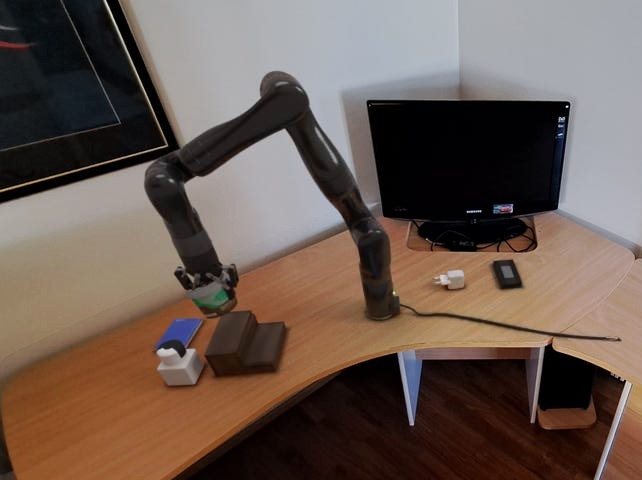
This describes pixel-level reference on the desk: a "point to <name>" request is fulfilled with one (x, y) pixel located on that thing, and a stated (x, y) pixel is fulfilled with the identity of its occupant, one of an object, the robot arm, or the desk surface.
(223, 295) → the food container
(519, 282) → the vhs tape
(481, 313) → the desk surface
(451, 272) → the power adapter
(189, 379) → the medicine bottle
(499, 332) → the desk surface
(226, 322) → the desk shelf
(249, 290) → the desk surface
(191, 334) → the hard drive
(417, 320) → the desk surface
